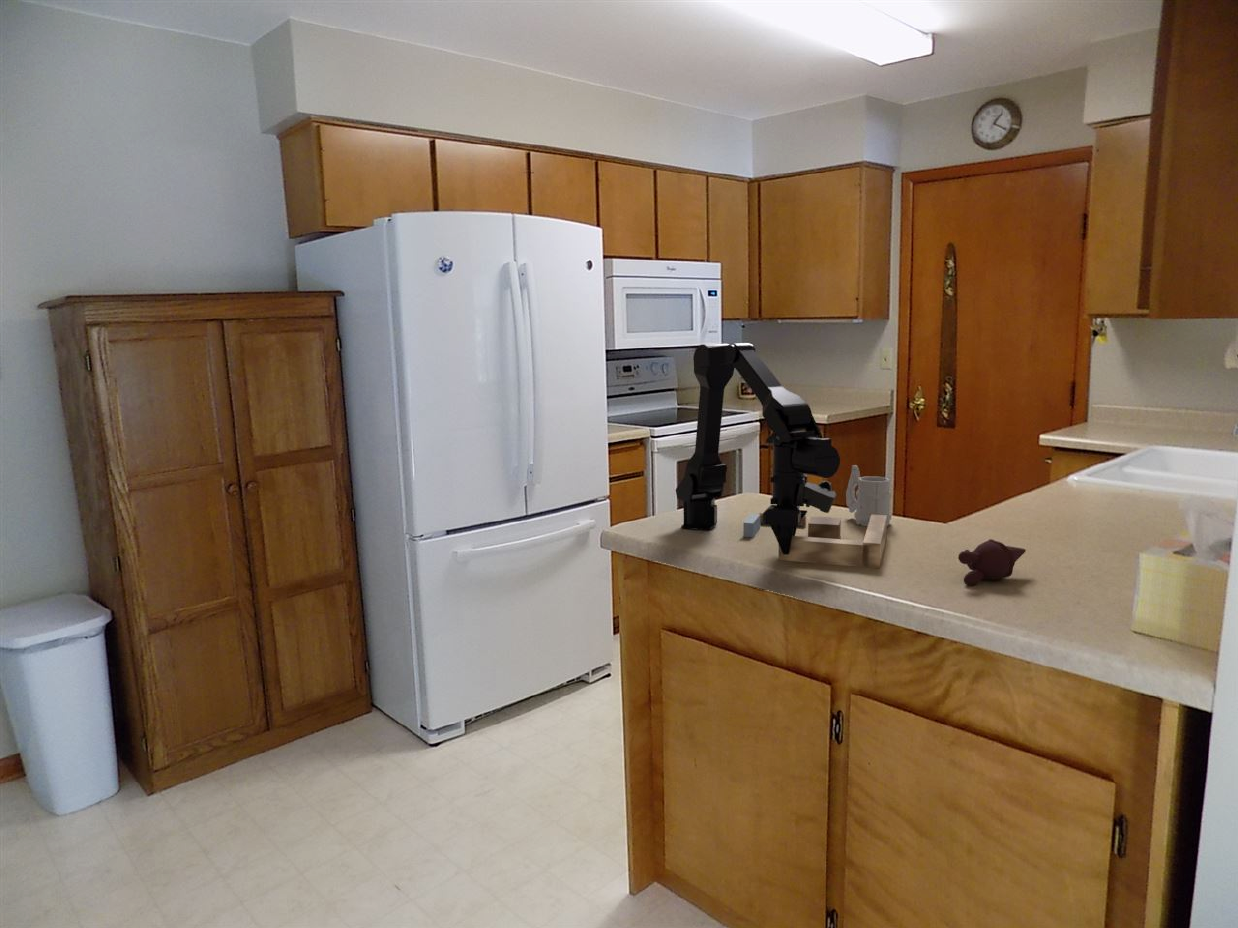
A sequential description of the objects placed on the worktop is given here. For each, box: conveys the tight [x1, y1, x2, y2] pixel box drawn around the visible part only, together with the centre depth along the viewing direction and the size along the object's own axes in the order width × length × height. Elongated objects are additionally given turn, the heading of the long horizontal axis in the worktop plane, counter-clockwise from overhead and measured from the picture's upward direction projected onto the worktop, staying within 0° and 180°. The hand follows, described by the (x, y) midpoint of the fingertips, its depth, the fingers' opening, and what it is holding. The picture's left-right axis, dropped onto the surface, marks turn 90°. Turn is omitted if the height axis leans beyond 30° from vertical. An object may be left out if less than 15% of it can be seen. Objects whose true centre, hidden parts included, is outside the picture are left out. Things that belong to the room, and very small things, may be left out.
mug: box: [845, 464, 892, 528], centre depth 177 cm, size 8×12×12 cm, turn 27°
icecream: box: [957, 538, 1027, 586], centre depth 137 cm, size 7×7×15 cm
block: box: [807, 515, 842, 539], centre depth 164 cm, size 6×6×4 cm
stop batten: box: [742, 513, 761, 538], centre depth 171 cm, size 2×8×3 cm, turn 160°
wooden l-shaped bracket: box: [777, 515, 888, 569], centre depth 158 cm, size 18×22×4 cm
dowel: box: [759, 512, 807, 528], centre depth 177 cm, size 10×2×2 cm
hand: (787, 551), depth 152 cm, fingers closed on wooden l-shaped bracket, 3 cm apart
